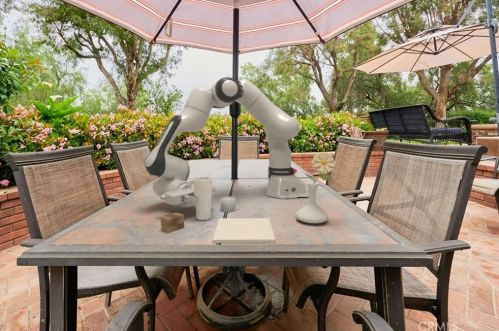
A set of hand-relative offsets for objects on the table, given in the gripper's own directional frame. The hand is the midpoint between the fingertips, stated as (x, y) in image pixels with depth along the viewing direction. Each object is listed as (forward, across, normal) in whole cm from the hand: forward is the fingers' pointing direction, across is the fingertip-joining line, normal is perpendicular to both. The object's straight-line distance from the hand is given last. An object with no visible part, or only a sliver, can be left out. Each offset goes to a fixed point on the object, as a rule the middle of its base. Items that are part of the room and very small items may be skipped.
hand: (204, 197), depth 91 cm
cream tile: (+18, 0, +8) cm, 20 cm away
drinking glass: (-1, 0, +8) cm, 8 cm away
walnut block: (-1, -13, +8) cm, 15 cm away
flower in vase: (+32, +23, +8) cm, 40 cm away
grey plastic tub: (-1, +13, +8) cm, 15 cm away
